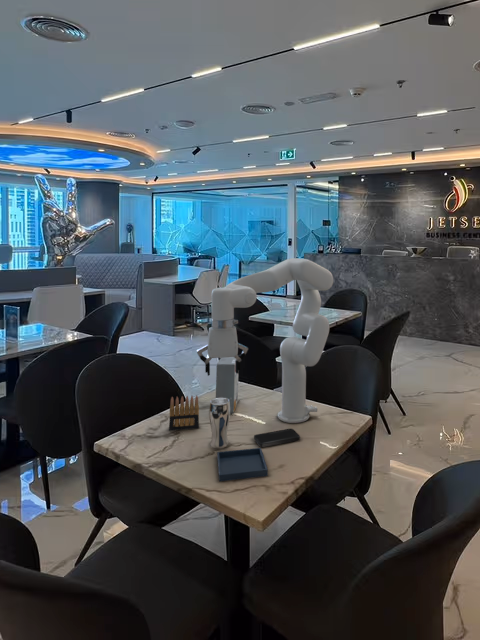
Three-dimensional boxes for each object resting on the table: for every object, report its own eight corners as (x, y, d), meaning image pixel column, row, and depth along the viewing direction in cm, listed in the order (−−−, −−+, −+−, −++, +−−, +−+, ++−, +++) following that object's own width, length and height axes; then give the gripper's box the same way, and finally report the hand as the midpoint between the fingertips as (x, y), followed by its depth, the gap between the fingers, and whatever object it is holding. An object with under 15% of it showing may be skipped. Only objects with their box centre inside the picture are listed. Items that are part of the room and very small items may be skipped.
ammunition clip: (198, 426, 165) (199, 394, 165) (198, 428, 163) (199, 395, 163) (169, 428, 162) (169, 396, 162) (168, 430, 160) (169, 397, 160)
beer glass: (231, 440, 153) (232, 397, 153) (226, 450, 146) (227, 405, 146) (212, 439, 154) (213, 396, 154) (206, 449, 147) (206, 404, 147)
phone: (300, 436, 154) (260, 444, 148) (300, 439, 154) (260, 447, 148) (292, 427, 161) (253, 434, 155) (292, 431, 161) (253, 437, 155)
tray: (260, 453, 144) (261, 447, 144) (267, 475, 130) (267, 469, 130) (217, 457, 141) (217, 451, 141) (219, 481, 127) (219, 475, 127)
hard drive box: (234, 414, 176) (234, 364, 176) (214, 414, 176) (215, 364, 176) (238, 400, 192) (239, 354, 192) (220, 400, 192) (221, 354, 192)
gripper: (246, 320, 157) (246, 368, 157) (196, 322, 152) (196, 372, 153) (249, 324, 149) (249, 374, 149) (196, 327, 145) (197, 378, 145)
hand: (222, 373), depth 151 cm, fingers open, 9 cm apart
